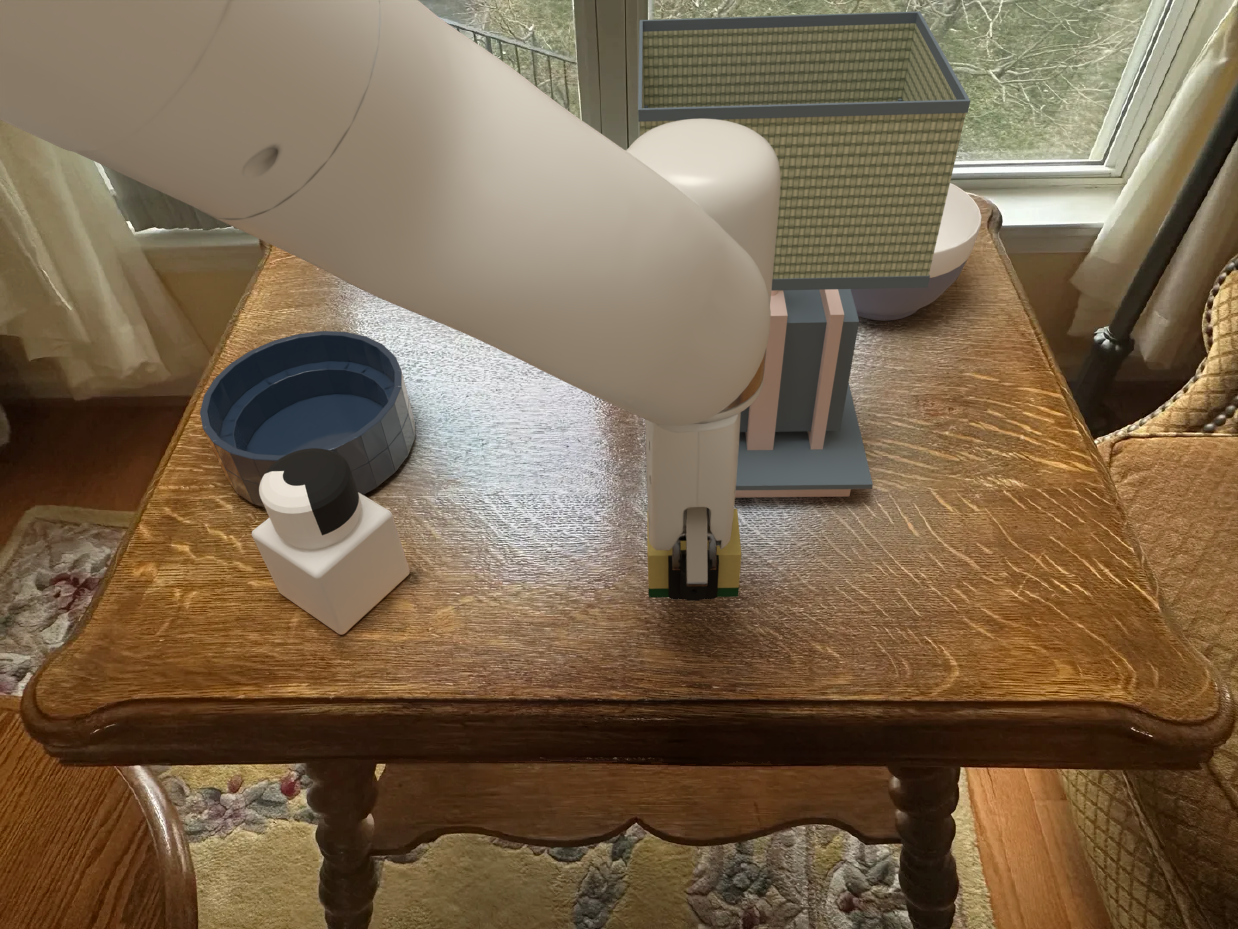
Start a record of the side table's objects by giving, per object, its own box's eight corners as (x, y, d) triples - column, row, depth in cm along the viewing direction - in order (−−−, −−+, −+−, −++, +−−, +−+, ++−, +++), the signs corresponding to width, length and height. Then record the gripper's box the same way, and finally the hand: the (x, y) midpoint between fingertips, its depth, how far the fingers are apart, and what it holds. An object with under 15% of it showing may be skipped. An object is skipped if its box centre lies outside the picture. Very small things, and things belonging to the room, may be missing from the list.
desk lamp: (850, 390, 85) (918, 9, 62) (878, 506, 75) (971, 103, 52) (647, 393, 85) (639, 18, 62) (647, 508, 75) (638, 112, 52)
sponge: (648, 598, 63) (647, 555, 60) (648, 552, 66) (647, 509, 63) (738, 597, 63) (741, 554, 60) (734, 551, 66) (737, 507, 63)
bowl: (790, 251, 101) (799, 168, 94) (941, 250, 100) (961, 166, 93) (805, 342, 90) (816, 256, 83) (975, 342, 89) (1000, 254, 82)
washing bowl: (313, 546, 74) (289, 490, 69) (188, 465, 81) (159, 408, 76) (454, 430, 83) (442, 372, 78) (330, 365, 90) (312, 310, 85)
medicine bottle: (348, 533, 75) (307, 422, 66) (412, 573, 72) (378, 461, 63) (277, 593, 71) (224, 483, 62) (342, 638, 68) (295, 528, 59)
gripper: (628, 271, 57) (636, 480, 70) (624, 468, 45) (635, 674, 58) (752, 268, 57) (738, 478, 70) (780, 465, 45) (757, 674, 58)
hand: (691, 566), depth 64 cm, fingers closed on sponge, 4 cm apart
